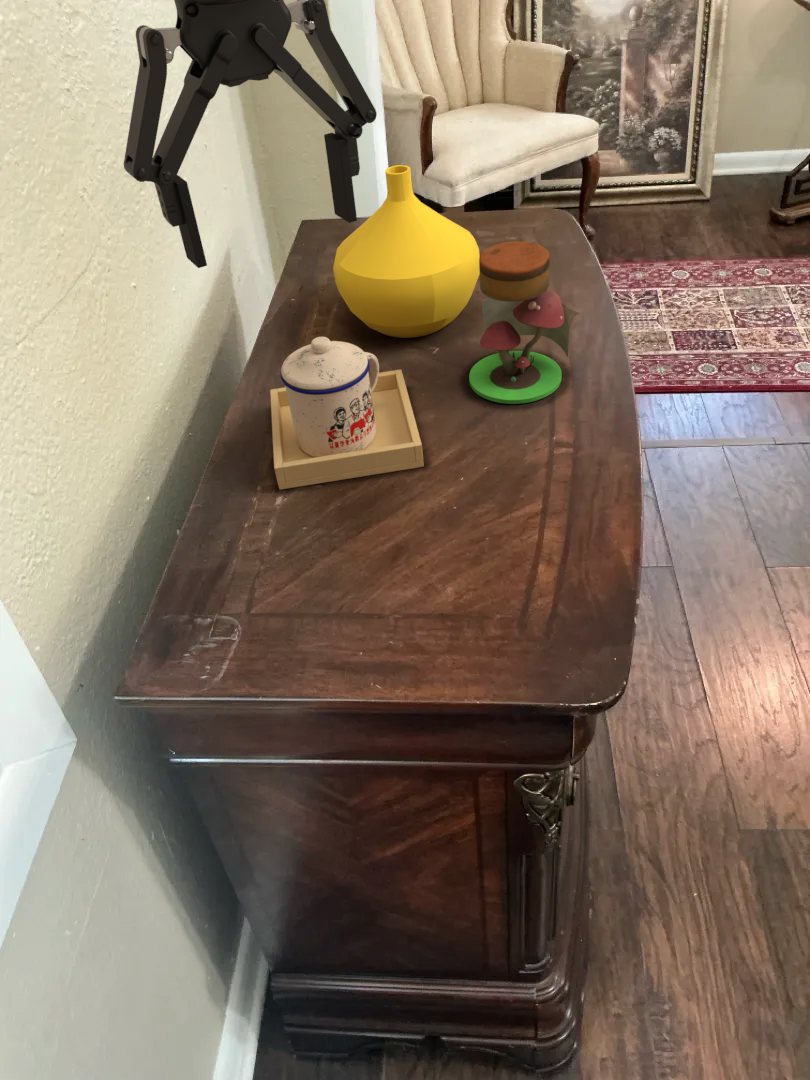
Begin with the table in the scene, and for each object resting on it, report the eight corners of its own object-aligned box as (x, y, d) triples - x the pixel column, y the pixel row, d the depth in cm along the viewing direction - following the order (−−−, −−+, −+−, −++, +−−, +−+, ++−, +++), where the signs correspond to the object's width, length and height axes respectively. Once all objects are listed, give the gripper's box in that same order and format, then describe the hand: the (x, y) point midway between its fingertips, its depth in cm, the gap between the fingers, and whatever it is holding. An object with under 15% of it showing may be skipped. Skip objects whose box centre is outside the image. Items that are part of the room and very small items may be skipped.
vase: (328, 355, 108) (302, 202, 95) (357, 287, 121) (338, 145, 108) (474, 356, 105) (468, 198, 92) (488, 286, 118) (484, 139, 105)
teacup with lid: (339, 472, 89) (321, 374, 81) (277, 444, 93) (255, 348, 85) (412, 415, 95) (403, 319, 87) (351, 392, 100) (337, 299, 92)
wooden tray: (279, 490, 89) (274, 468, 87) (274, 410, 100) (270, 389, 98) (424, 466, 89) (421, 444, 87) (403, 389, 101) (401, 369, 99)
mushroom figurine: (565, 412, 94) (570, 284, 84) (454, 402, 98) (446, 277, 88) (582, 356, 102) (589, 233, 92) (479, 348, 106) (474, 229, 96)
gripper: (353, -100, 65) (381, 189, 78) (16, -47, 56) (115, 266, 70) (403, -96, 60) (424, 212, 73) (42, -38, 51) (143, 298, 65)
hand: (273, 239), depth 72 cm, fingers open, 13 cm apart
